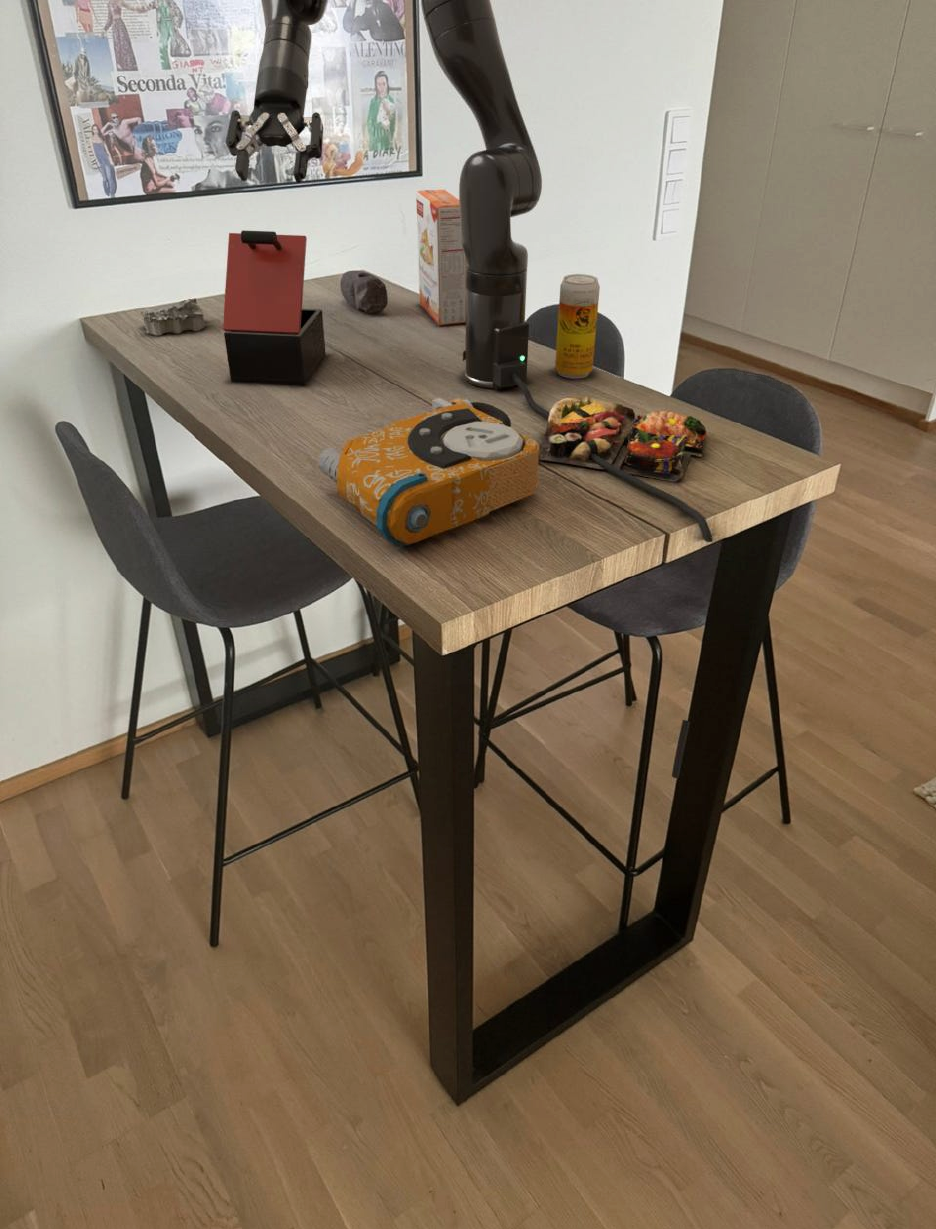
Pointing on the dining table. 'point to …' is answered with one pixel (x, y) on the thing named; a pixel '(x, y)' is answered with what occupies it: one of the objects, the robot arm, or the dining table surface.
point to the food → (622, 437)
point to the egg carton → (174, 318)
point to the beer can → (577, 325)
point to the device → (434, 470)
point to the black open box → (277, 353)
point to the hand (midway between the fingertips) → (270, 178)
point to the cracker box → (441, 257)
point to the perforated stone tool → (364, 291)
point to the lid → (264, 282)
